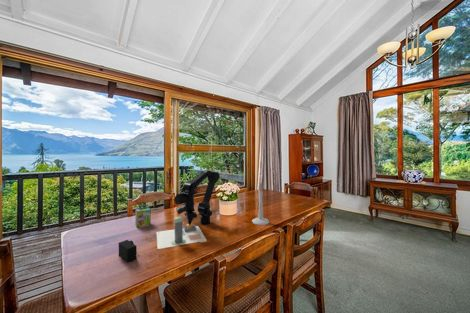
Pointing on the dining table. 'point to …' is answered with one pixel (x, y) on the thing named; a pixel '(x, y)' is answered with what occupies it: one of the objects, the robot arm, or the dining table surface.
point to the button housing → (189, 228)
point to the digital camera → (127, 251)
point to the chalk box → (143, 216)
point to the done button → (189, 226)
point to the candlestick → (260, 211)
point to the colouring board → (168, 238)
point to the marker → (178, 230)
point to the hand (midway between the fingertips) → (189, 224)
